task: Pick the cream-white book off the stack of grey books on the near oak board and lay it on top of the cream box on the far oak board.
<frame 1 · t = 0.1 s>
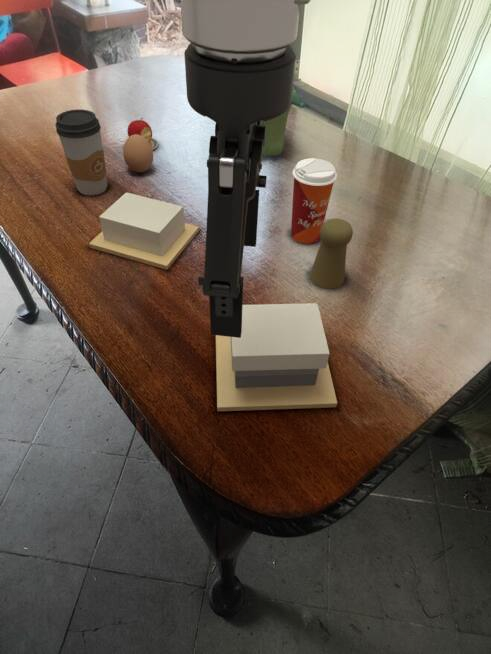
hand: (235, 284, 46), 21 cm above the table, tool pointing down, fingers open, 13 cm apart
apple: (142, 147, 111), on the table
pepper shaker: (326, 277, 79), on the table
cream box: (146, 239, 85), on the table
coffee cup: (93, 189, 97), on the table
decorative sculpture: (256, 150, 112), on the table
grey stack: (272, 370, 65), on the table
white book: (275, 343, 60), point 6 cm above the table, touching grey stack
egg: (140, 171, 103), on the table
paper cup: (305, 235, 88), on the table
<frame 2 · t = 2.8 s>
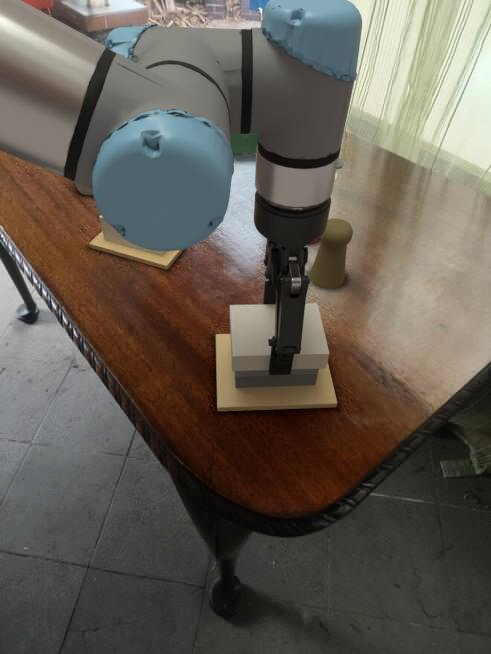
hand: (275, 343, 60), 6 cm above the table, tool pointing down, fingers closed on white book, 9 cm apart
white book: (275, 343, 60), point 6 cm above the table, touching grey stack, gripper
everything else where it was.
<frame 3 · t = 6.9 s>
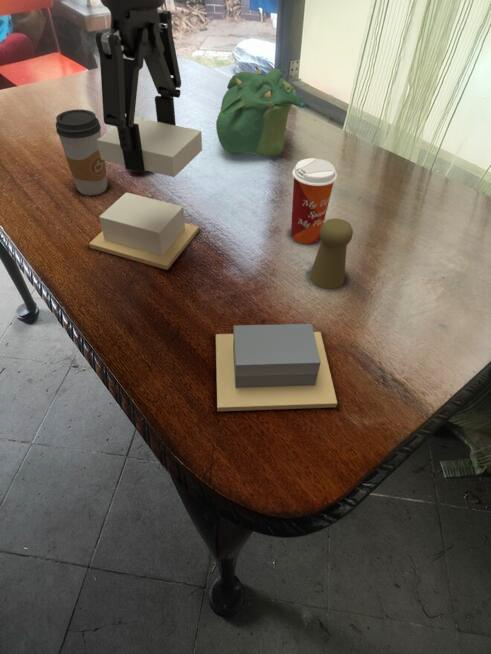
hand: (152, 155, 67), 19 cm above the table, tool pointing down, fingers closed on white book, 9 cm apart
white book: (152, 155, 67), point 20 cm above the table, touching gripper
everything else where it was.
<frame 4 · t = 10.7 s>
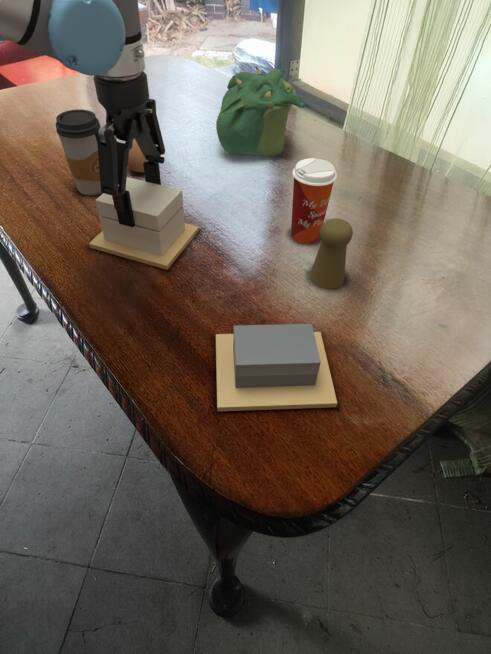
hand: (141, 210, 81), 6 cm above the table, tool pointing down, fingers closed on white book, 9 cm apart
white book: (141, 210, 81), point 6 cm above the table, touching gripper
everything else where it was.
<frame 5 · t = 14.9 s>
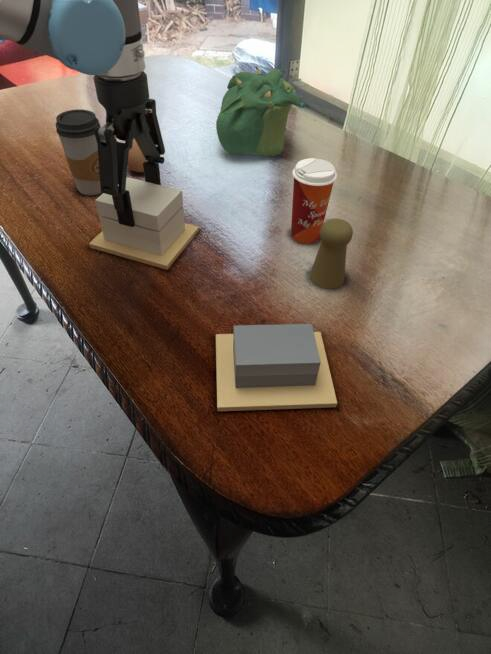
hand: (141, 210, 81), 6 cm above the table, tool pointing down, fingers closed on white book, 9 cm apart
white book: (141, 210, 81), point 6 cm above the table, touching gripper
everything else where it was.
when the fingers open (7 cm above the table, at t = 18.4 s): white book drops 1 cm, resting on cream box.
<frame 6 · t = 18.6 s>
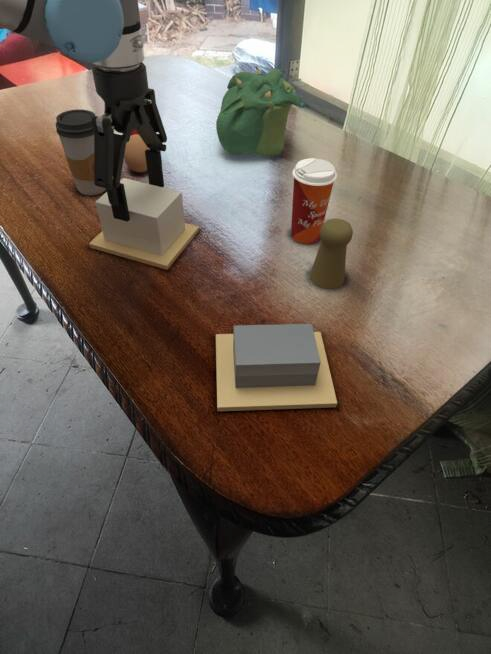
hand: (140, 201, 80), 8 cm above the table, tool pointing down, fingers open, 11 cm apart
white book: (141, 211, 81), point 6 cm above the table, touching cream box
everything else where it was.
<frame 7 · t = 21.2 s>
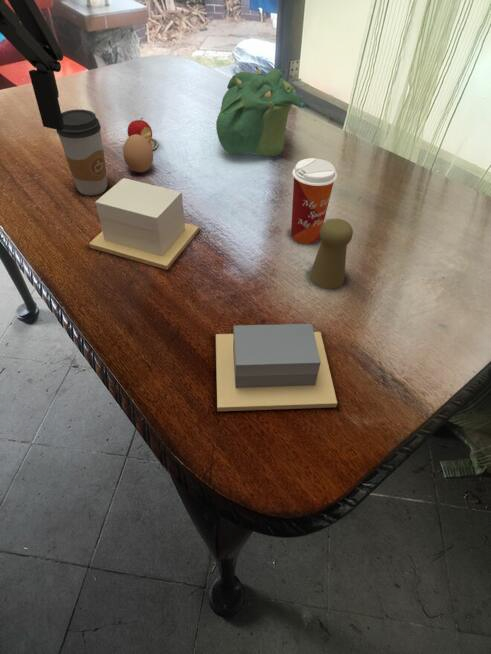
hand: (18, 149, 54), 26 cm above the table, tool pointing down, fingers open, 13 cm apart
nothing on the table moved.
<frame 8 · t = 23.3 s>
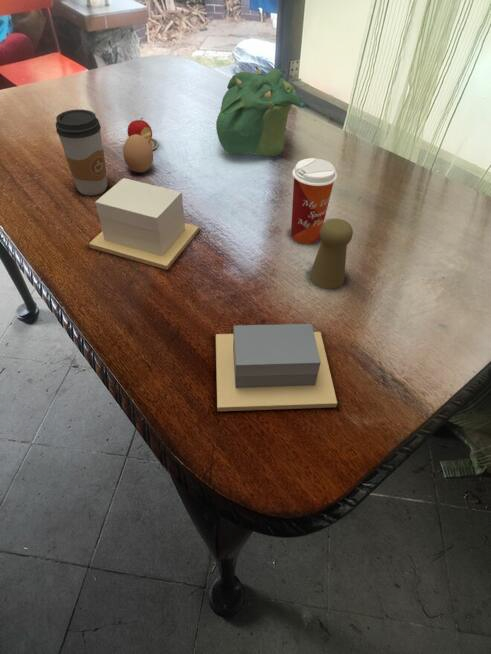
nothing on the table moved.
at the end: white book 0.1 cm off-centre on the cream box, point 6.0 cm above the cream box's base; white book tilted 0°; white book moved 38.2 cm from its start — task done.
